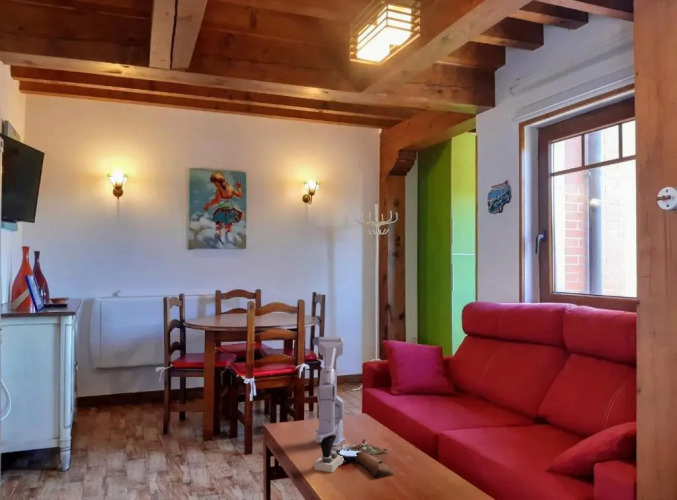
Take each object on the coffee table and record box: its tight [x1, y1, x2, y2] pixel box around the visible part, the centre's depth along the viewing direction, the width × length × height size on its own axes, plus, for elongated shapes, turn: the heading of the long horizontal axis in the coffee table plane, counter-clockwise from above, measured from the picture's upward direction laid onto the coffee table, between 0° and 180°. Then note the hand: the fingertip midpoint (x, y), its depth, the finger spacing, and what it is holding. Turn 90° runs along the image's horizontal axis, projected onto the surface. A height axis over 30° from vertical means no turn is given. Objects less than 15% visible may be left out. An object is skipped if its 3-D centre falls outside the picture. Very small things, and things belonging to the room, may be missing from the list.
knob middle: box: [330, 450, 337, 459], centre depth 197 cm, size 4×4×4 cm
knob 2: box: [332, 445, 342, 455], centre depth 201 cm, size 4×4×4 cm
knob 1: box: [321, 454, 332, 463], centre depth 193 cm, size 4×4×4 cm
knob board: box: [313, 449, 345, 473], centre depth 197 cm, size 15×7×2 cm, turn 158°
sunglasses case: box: [354, 451, 397, 479], centre depth 193 cm, size 18×7×7 cm
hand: (326, 456), depth 193 cm, fingers closed, pressing on knob 1
